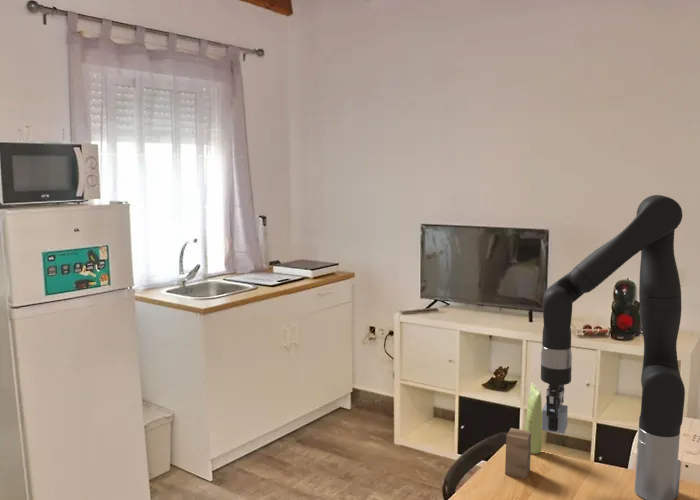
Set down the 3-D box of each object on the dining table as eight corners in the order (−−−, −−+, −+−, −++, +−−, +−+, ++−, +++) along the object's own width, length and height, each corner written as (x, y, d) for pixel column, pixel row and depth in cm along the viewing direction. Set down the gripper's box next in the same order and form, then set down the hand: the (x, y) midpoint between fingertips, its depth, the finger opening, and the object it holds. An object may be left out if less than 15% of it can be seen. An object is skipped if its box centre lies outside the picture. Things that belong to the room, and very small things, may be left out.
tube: (546, 451, 183) (549, 386, 180) (537, 456, 179) (540, 391, 176) (529, 444, 187) (531, 381, 184) (519, 450, 183) (522, 385, 180)
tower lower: (509, 465, 174) (510, 446, 173) (529, 470, 171) (530, 450, 171) (505, 474, 169) (505, 455, 168) (525, 479, 167) (526, 459, 166)
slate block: (545, 422, 168) (545, 402, 167) (567, 425, 165) (567, 405, 165) (542, 430, 163) (542, 410, 162) (564, 433, 161) (564, 413, 160)
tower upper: (510, 446, 173) (510, 427, 172) (530, 450, 171) (531, 431, 170) (505, 455, 168) (506, 435, 168) (526, 459, 166) (527, 439, 165)
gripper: (567, 373, 154) (566, 439, 156) (575, 357, 167) (573, 418, 169) (536, 369, 157) (535, 434, 160) (545, 354, 170) (544, 413, 172)
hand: (554, 425), depth 164 cm, fingers closed on slate block, 5 cm apart
